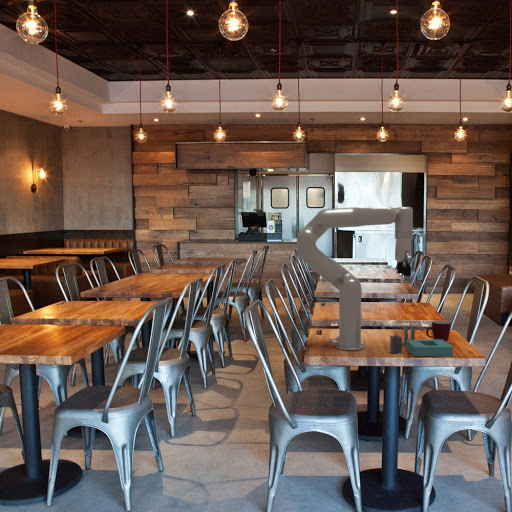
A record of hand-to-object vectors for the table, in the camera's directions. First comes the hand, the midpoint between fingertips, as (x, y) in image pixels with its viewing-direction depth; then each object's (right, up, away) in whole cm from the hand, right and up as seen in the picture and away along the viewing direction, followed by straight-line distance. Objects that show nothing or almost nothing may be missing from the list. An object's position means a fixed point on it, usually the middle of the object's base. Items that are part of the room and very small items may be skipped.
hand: (403, 274), depth 253 cm
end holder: (+9, -33, -5) cm, 35 cm away
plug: (-5, -33, -5) cm, 34 cm away
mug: (+18, -32, +10) cm, 38 cm away
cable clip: (+4, -32, +8) cm, 33 cm away
